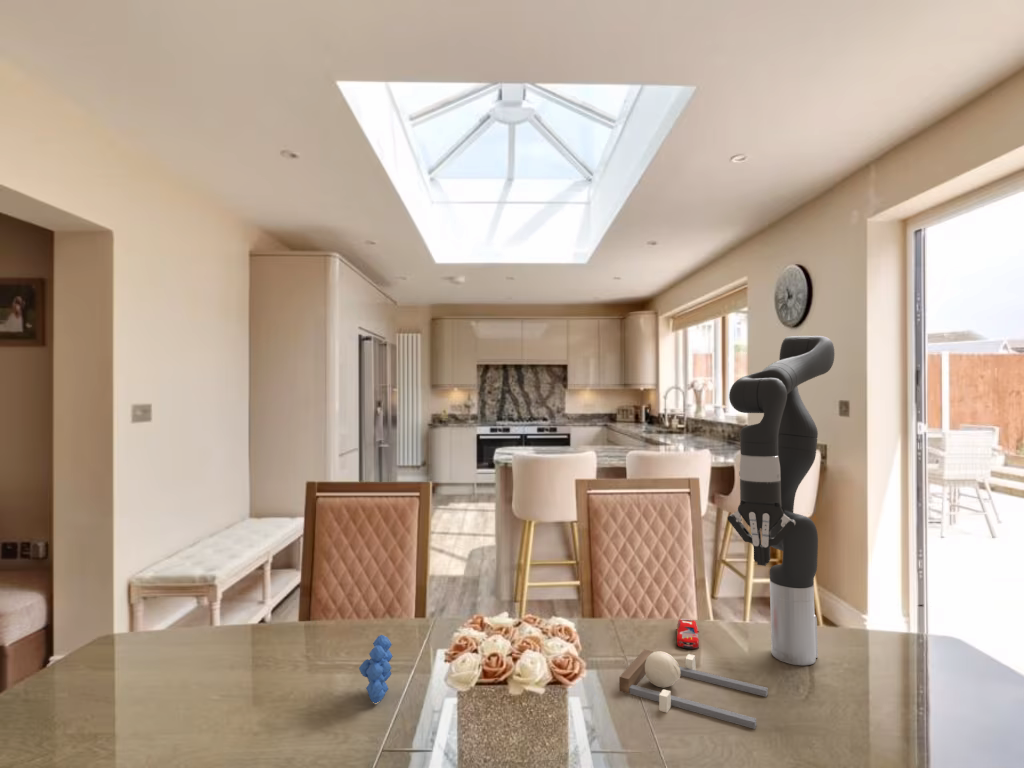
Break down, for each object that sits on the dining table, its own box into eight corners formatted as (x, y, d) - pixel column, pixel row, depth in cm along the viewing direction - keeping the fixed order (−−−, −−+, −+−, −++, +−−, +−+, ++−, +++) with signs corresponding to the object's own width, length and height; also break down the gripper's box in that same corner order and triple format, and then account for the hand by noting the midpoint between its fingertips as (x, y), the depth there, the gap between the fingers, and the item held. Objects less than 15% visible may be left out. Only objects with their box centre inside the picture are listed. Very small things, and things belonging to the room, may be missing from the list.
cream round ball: (678, 696, 115) (677, 663, 115) (642, 689, 118) (641, 656, 118) (683, 681, 121) (682, 649, 121) (648, 674, 124) (648, 643, 124)
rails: (767, 693, 116) (767, 687, 116) (754, 729, 103) (754, 722, 103) (652, 665, 129) (652, 659, 129) (629, 693, 116) (629, 687, 116)
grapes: (366, 683, 122) (366, 626, 122) (398, 682, 122) (397, 626, 122) (350, 713, 110) (350, 650, 111) (385, 712, 110) (384, 650, 111)
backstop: (653, 664, 129) (652, 651, 129) (628, 693, 116) (628, 679, 116) (644, 662, 130) (644, 649, 130) (619, 691, 117) (619, 676, 117)
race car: (699, 653, 135) (699, 636, 135) (675, 650, 137) (675, 633, 137) (699, 630, 148) (698, 615, 148) (677, 628, 149) (677, 613, 149)
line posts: (695, 669, 126) (695, 655, 126) (667, 712, 109) (666, 696, 109) (688, 667, 127) (688, 654, 127) (659, 710, 110) (659, 694, 110)
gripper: (798, 477, 113) (801, 564, 113) (729, 473, 121) (731, 555, 120) (794, 482, 107) (796, 574, 107) (721, 477, 114) (723, 564, 114)
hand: (762, 564), depth 113 cm, fingers closed
